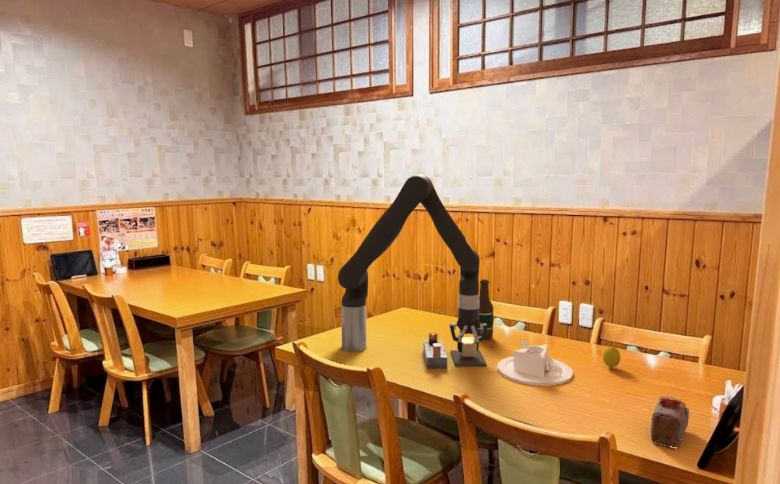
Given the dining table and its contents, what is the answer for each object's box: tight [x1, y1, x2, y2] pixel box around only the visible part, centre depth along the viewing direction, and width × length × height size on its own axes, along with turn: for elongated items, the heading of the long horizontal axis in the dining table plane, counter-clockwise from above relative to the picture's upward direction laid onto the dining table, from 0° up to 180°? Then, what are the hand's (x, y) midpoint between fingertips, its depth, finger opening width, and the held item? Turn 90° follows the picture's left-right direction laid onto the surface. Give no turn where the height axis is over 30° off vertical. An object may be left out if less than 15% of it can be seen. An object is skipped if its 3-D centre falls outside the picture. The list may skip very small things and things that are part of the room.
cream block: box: [461, 336, 477, 357], centre depth 189 cm, size 5×8×4 cm, turn 0°
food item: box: [650, 396, 690, 449], centre depth 134 cm, size 14×8×10 cm, turn 147°
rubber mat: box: [449, 349, 488, 367], centre depth 189 cm, size 11×14×1 cm
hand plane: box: [423, 332, 448, 370], centre depth 189 cm, size 18×7×8 cm, turn 0°
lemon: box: [602, 345, 621, 369], centre depth 179 cm, size 6×6×8 cm
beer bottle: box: [476, 279, 494, 341], centre depth 212 cm, size 8×8×24 cm
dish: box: [497, 339, 574, 387], centre depth 177 cm, size 25×25×11 cm
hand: (467, 351), depth 189 cm, fingers closed on cream block, 5 cm apart
